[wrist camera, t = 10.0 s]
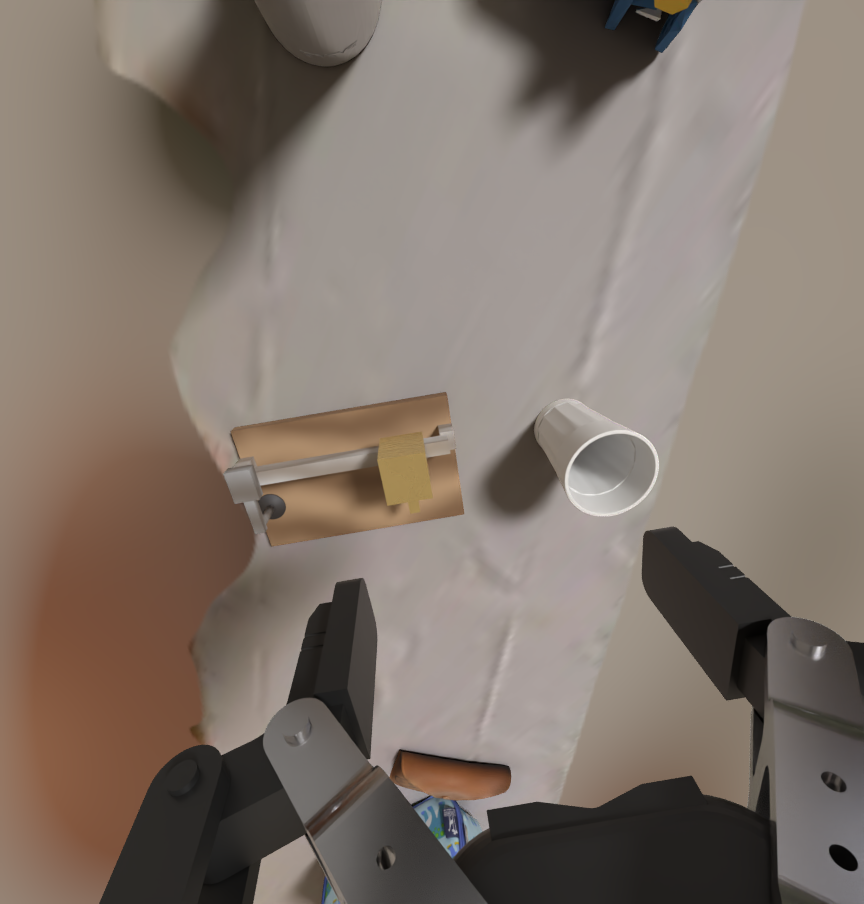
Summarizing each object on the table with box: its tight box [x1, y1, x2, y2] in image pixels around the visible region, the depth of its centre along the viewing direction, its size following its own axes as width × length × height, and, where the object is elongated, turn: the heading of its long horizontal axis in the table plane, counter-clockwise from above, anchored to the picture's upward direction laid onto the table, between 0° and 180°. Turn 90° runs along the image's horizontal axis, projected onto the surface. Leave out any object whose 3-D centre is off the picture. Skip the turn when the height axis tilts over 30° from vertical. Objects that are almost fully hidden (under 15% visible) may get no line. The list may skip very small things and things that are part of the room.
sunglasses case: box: [390, 750, 511, 800], centre depth 68 cm, size 18×7×7 cm, turn 72°
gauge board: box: [223, 392, 464, 546], centre depth 45 cm, size 14×22×6 cm, turn 99°
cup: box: [534, 399, 659, 516], centre depth 42 cm, size 8×8×12 cm
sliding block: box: [377, 431, 433, 514], centre depth 42 cm, size 8×4×9 cm, turn 9°
